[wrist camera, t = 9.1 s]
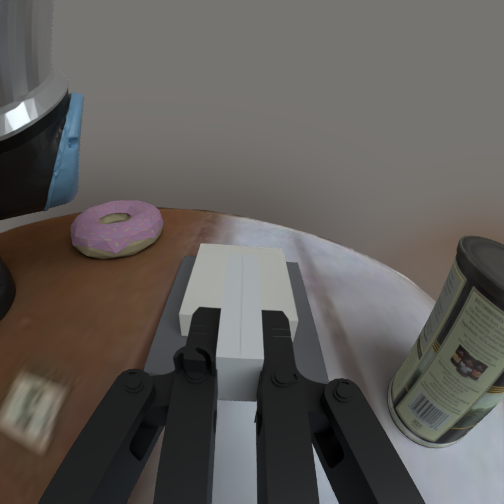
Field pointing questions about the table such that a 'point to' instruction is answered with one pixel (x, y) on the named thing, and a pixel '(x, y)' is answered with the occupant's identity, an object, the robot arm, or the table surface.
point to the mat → (172, 340)
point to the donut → (116, 229)
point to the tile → (213, 277)
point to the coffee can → (456, 352)
